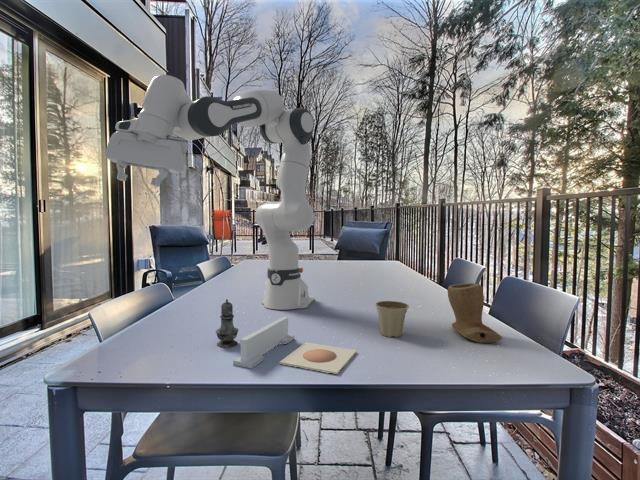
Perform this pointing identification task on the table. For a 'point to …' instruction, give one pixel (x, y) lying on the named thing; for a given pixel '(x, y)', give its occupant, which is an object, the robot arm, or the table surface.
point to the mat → (319, 357)
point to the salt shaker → (227, 327)
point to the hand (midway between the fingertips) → (137, 183)
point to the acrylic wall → (262, 343)
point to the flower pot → (391, 317)
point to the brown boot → (470, 312)
